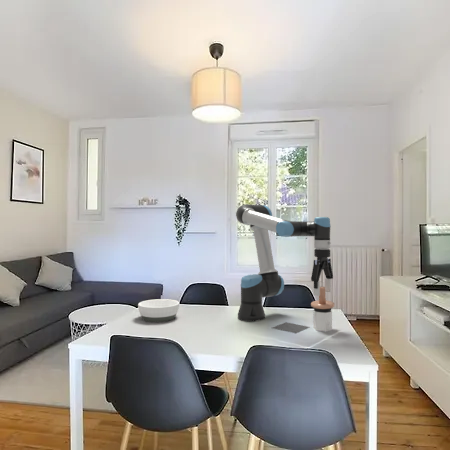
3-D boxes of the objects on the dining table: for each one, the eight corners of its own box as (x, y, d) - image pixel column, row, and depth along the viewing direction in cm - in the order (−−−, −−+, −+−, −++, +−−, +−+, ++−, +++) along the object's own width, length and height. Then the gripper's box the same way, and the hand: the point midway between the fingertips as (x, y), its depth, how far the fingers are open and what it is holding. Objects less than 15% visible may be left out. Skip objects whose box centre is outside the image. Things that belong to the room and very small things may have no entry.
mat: (270, 329, 177) (270, 327, 177) (285, 323, 187) (285, 322, 187) (296, 334, 167) (296, 333, 167) (310, 328, 178) (310, 327, 178)
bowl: (129, 321, 192) (129, 305, 192) (153, 312, 213) (153, 297, 213) (165, 325, 184) (165, 308, 184) (186, 315, 205) (186, 300, 205)
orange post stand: (307, 306, 174) (306, 288, 174) (317, 301, 183) (316, 283, 182) (328, 310, 167) (327, 291, 167) (338, 304, 176) (337, 285, 175)
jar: (322, 333, 169) (322, 308, 169) (309, 329, 176) (309, 304, 176) (335, 330, 174) (335, 305, 174) (322, 326, 181) (322, 302, 181)
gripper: (318, 250, 164) (318, 298, 164) (339, 248, 182) (340, 291, 182) (303, 249, 169) (303, 296, 168) (325, 247, 187) (326, 289, 186)
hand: (322, 293), depth 175 cm, fingers open, 11 cm apart
